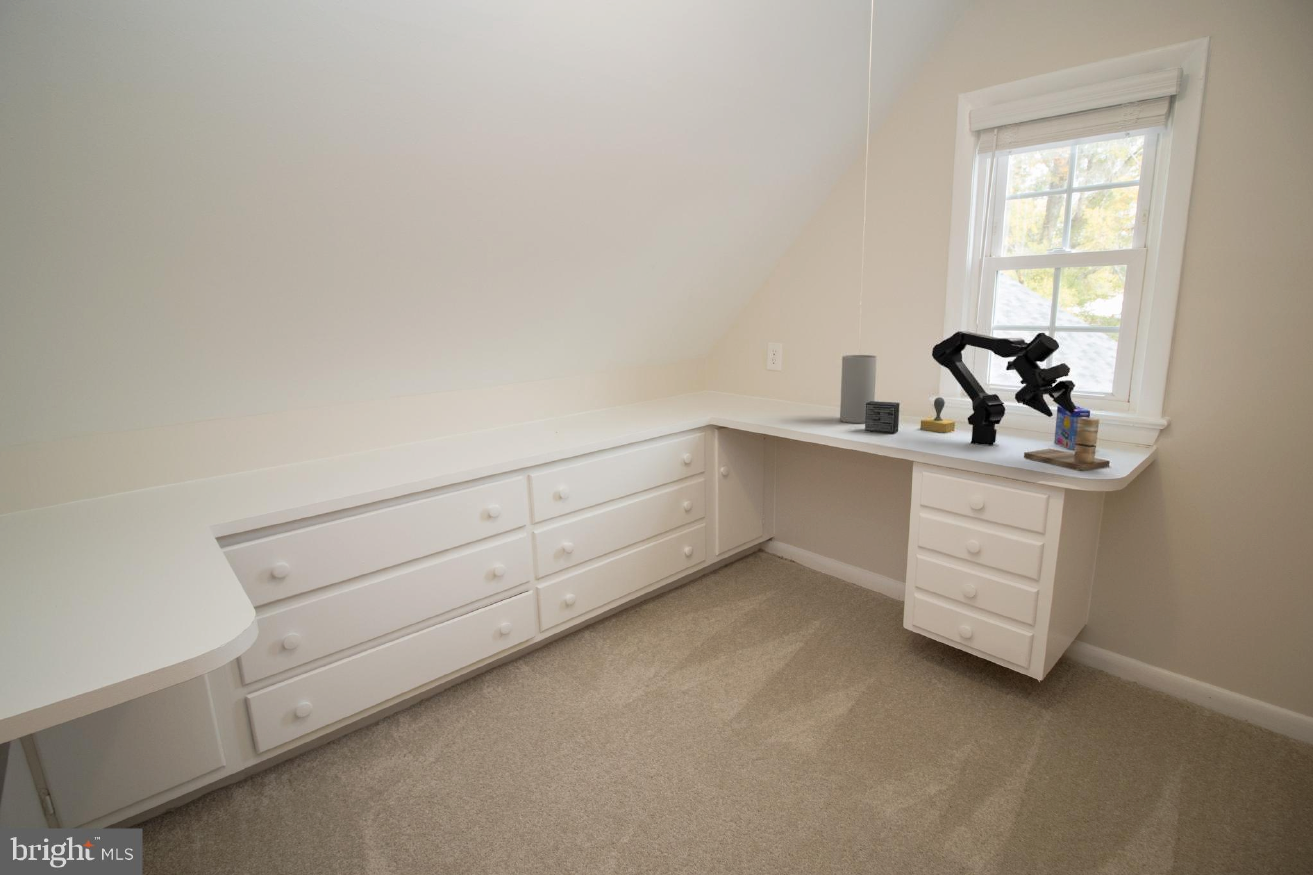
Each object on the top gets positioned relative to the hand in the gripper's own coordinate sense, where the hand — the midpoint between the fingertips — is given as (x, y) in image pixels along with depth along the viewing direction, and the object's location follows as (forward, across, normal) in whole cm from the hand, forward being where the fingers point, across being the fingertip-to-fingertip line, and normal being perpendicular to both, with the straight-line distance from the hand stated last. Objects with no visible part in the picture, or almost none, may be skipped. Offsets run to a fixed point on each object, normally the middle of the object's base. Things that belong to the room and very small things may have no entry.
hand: (1062, 414), depth 184 cm
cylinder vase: (-44, -8, +63) cm, 77 cm away
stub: (+10, 0, 0) cm, 10 cm away
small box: (-30, -14, +49) cm, 59 cm away
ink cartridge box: (+3, +20, +16) cm, 26 cm away
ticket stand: (+11, 0, +8) cm, 13 cm away
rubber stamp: (-24, +4, +43) cm, 50 cm away
